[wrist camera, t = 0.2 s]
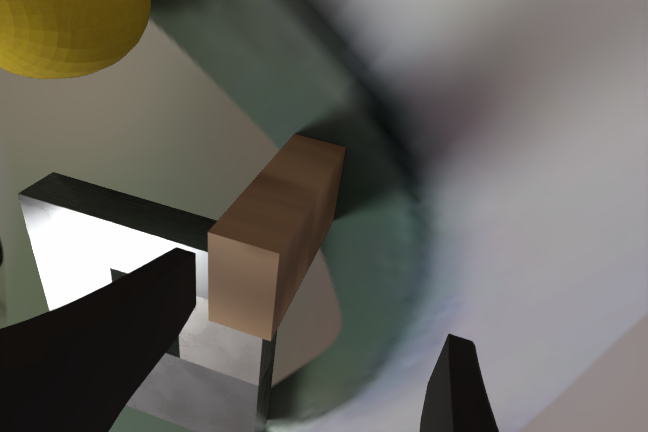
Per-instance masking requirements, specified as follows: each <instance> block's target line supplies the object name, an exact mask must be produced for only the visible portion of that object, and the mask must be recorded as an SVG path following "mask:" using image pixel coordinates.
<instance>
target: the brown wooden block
mask: <svg viewBox="0 0 648 432" xmlns="http://www.w3.org/2000/svg"><path fill="white" fill-rule="evenodd" d="M345 150H346V147H343V146H340V145H336V144H332V143H328V142H324V141H320V140H316V139H312V138H308V137H304V136H300V135H297V134H294V135H293V136H292V137H291V138H290V139H289V141H288V142H287V143H286V144H285V145H284V146H283V147H282V149H281V150H280V151H279V152H278V153H277V154H276V155H275V157H274V158H273V159H272V160H271V161H270V162H269V163H268V164H267V166H266V167H265V168H264V169H263V170H262V171H261V172H260V173H259V175H258V176H257V177H256V178H255V179H254V180H253V181H252V183H251V184H250V185H249V186H248V187H247V188H246V189H245V190H244V192H243V193H242V194H241V195H240V196H239V197H238V198H237V200H236V201H235V202H234V203H233V204H232V205H231V206H230V208H229V209H228V210H227V211H226V212H225V213H224V214H223V216H222V217H221V218H220V219H219V220H218V221H217V222H216V223H215V224H214V226H213V227H212V228H211V229H210V230H209V231H208V321H211V322H214V323H217V324H220V325H223V326H226V327H229V328H232V329H235V330H238V331H241V332H244V333H247V334H250V335H253V336H256V337H259V338H262V339H265V340H268V341H271V340H272V338H273V336H274V334H275V332H276V330H277V328H278V326H279V324H280V323H281V321H282V319H283V317H284V315H285V313H286V311H287V309H288V307H289V305H290V303H291V301H292V299H293V297H294V296H295V294H296V292H297V290H298V288H299V286H300V284H301V282H302V280H303V278H304V276H305V274H306V272H307V271H308V269H309V267H310V265H311V263H312V261H313V259H314V257H315V255H316V253H317V251H318V250H319V248H320V246H321V244H322V242H323V240H324V238H325V236H326V234H327V232H328V230H329V228H330V227H331V225H332V223H333V220H334V214H335V208H336V203H337V197H338V191H339V185H340V179H341V174H342V168H343V162H344V156H345Z"/></svg>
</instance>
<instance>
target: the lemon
mask: <svg viewBox="0 0 648 432" xmlns="http://www.w3.org/2000/svg"><path fill="white" fill-rule="evenodd" d="M150 9H151V0H0V68H2V69H4V70H6V71H8V72H11V73H15V74H18V75H23V76H27V77H30V78H38V79H58V78H73V77H80V76H84V75H88V74H91V73H94V72H97V71H99V70H101V69H104V68H106V67H108V66H110V65H113V64H114V63H116V62H118V61H119V60H121V58H123V57H124V56H125V55H126V54H127V53H128V52H129V51H130V50H131V49H132V48H133V47H134V46H135V45H136V44H137V43H138V42H139V40H140V38H141V36H142V34H143V32H144V30H145V28H146V26H147V23H148V19H149V14H150Z"/></svg>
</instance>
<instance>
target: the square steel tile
mask: <svg viewBox="0 0 648 432" xmlns="http://www.w3.org/2000/svg"><path fill="white" fill-rule="evenodd" d="M18 196H19V200H20V203H21V207H22V210H23V214H24V218H25V222H26V225H27V229H28V233H29V237H30V240H31V244H32V248H33V251H34V255H35V258H36V262H37V266H38V270H39V273H40V277H41V280H42V284H43V288H44V292H45V295H46V299H47V303H48V307H49V310H50V311H52V310H54V309H56V308H59V307H61V306H63V305H66V304H68V303H70V302H72V301H75V300H77V299H79V298H81V297H83V296H85V295H87V294H89V293H91V292H93V291H95V290H97V289H99V288H101V287H104V286H106V285H107V284H109V283H111V282H113V281H115V280H117V279H119V278H121V277H122V276H124V275H126V274H128V273H130V272H132V271H134V270H135V269H137V268H139V267H141V266H143V265H144V264H146V263H148V262H150V261H152V260H153V259H155V258H157V257H159V256H161V255H162V254H164V253H166V252H168V251H170V250H172V249H174V248H175V247H178V248H181V249H184V250H187V251H191V252H194V253H196V307H195V308H194V310H193V312H192V314H191V315H190V317H189V319H188V321H187V322H186V324H185V326H184V327H183V329H182V331H181V332H180V334H179V336H178V337H177V338H176V340H175V341H174V342H173V344H172V345H171V346H170V348H169V349H168V350H167V352H166V353H165V354H164V355H163V357H162V358H161V359H160V361H159V362H158V363H157V365H156V366H155V367H154V368H153V370H152V371H151V372H150V374H149V375H148V376H147V377H146V379H145V380H144V381H143V383H142V384H141V385H140V387H139V388H138V389H137V390H136V392H135V393H134V394H133V396H132V397H131V398H130V400H129V401H128V402H127V404H126V405H127V406H130V407H132V408H135V409H138V410H140V411H143V412H145V413H148V414H151V415H153V416H156V417H159V418H162V419H164V420H167V421H170V422H172V423H175V424H177V425H180V426H182V427H185V428H188V429H191V430H193V431H196V432H262V431H263V429H264V427H265V425H266V422H267V419H268V409H269V400H270V391H271V382H272V372H273V364H274V354H275V345H276V336H277V330H276V332H275V334H274V336H273V338H272V340H271V341H268V340H265V339H262V338H259V337H256V336H253V335H250V334H247V333H244V332H241V331H238V330H235V329H232V328H229V327H226V326H223V325H220V324H217V323H214V322H211V321H208V231H209V230H210V229H211V228H212V227H213V226H214V224H215V223H216V222H217V221H216V220H213V219H210V218H206V217H203V216H199V215H196V214H192V213H189V212H186V211H182V210H179V209H176V208H172V207H169V206H166V205H162V204H159V203H155V202H152V201H149V200H145V199H142V198H139V197H135V196H131V195H128V194H125V193H121V192H118V191H115V190H112V189H108V188H105V187H101V186H98V185H95V184H91V183H88V182H84V181H81V180H78V179H74V178H71V177H67V176H64V175H61V174H58V173H54V172H53V173H51V174H49V175H48V176H46V177H44V178H43V179H41V180H40V181H38V182H36V183H35V184H33V185H31V186H30V187H28V188H26V189H25V190H23V191H21V192H20V193H19V194H18Z"/></svg>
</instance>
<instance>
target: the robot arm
mask: <svg viewBox="0 0 648 432" xmlns="http://www.w3.org/2000/svg"><path fill="white" fill-rule="evenodd" d="M195 307H196V253H194V252H191V251H187V250H184V249H181V248H178V247H175V248H174V249H172V250H170V251H168V252H166V253H164V254H162V255H161V256H159V257H157V258H155V259H153V260H152V261H150V262H148V263H146V264H144V265H143V266H141V267H139V268H137V269H135V270H134V271H132V272H130V273H128V274H126V275H124V276H122V277H121V278H119V279H117V280H115V281H113V282H111V283H109V284H107V285H106V286H104V287H101V288H99V289H97V290H95V291H93V292H91V293H89V294H87V295H85V296H83V297H81V298H79V299H77V300H75V301H72V302H70V303H68V304H66V305H63V306H61V307H59V308H56V309H54V310H52V311H49V312H46V313H44V314H41V315H39V316H36V317H34V318H31V319H29V320H26V321H23V322H20V323H17V324H14V325H11V326H8V327H5V328H2V329H0V432H108V431H109V430H110V428H111V427H112V425H113V423H114V422H115V420H116V419H117V417H118V415H119V414H120V412H121V411H122V409H123V408H124V407H125V405H126V404H127V402H128V401H129V400H130V398H131V397H132V396H133V394H134V393H135V392H136V390H137V389H138V388H139V387H140V385H141V384H142V383H143V381H144V380H145V379H146V377H147V376H148V375H149V374H150V372H151V371H152V370H153V368H154V367H155V366H156V365H157V363H158V362H159V361H160V359H161V358H162V357H163V355H164V354H165V353H166V352H167V350H168V349H169V348H170V346H171V345H172V344H173V342H174V341H175V340H176V338H177V337H178V336H179V334H180V332H181V331H182V329H183V327H184V326H185V324H186V322H187V321H188V319H189V317H190V315H191V314H192V312H193V310H194V308H195ZM420 432H499V430H498V427H497V424H496V421H495V418H494V415H493V412H492V409H491V406H490V403H489V400H488V397H487V393H486V390H485V386H484V382H483V379H482V375H481V371H480V367H479V363H478V358H477V353H476V348H475V345H474V343H473V341H470V340H467V339H464V338H461V337H457V336H454V335H451V334H448V337H447V339H446V341H445V344H444V346H443V349H442V351H441V353H440V356H439V358H438V361H437V363H436V365H435V368H434V370H433V372H432V375H431V377H430V380H429V382H428V386H427V391H426V396H425V401H424V406H423V411H422V416H421V423H420Z"/></svg>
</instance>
